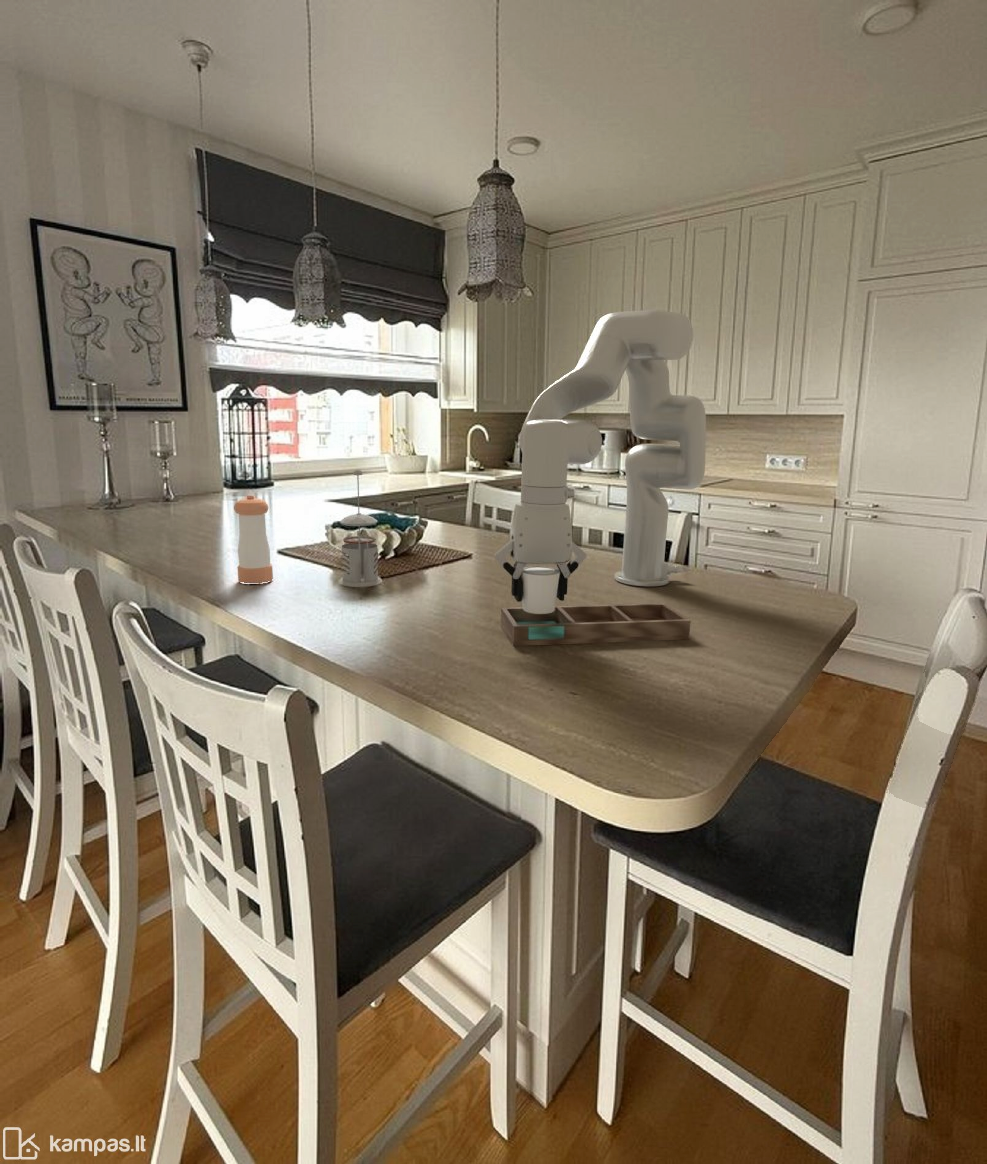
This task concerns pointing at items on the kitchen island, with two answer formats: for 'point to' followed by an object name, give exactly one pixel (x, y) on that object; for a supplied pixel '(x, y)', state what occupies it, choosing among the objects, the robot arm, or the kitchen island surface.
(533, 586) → the white cup
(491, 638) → the kitchen island surface
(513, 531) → the robot arm
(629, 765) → the kitchen island surface
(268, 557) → the pepper shaker
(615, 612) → the rack
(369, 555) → the french press
